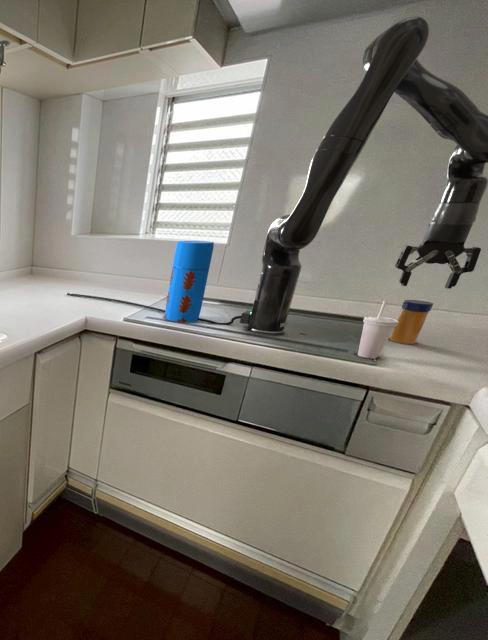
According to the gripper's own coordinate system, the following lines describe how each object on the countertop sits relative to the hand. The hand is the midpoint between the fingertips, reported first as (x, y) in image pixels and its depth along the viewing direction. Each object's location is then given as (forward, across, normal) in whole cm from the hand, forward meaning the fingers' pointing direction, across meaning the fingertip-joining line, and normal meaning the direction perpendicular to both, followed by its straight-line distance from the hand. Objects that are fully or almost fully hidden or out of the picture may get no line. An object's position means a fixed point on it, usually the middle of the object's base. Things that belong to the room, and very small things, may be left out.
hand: (425, 286), depth 107 cm
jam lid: (+4, 0, 0) cm, 4 cm away
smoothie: (+15, +11, +21) cm, 28 cm away
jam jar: (+15, 0, 0) cm, 15 cm away
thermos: (+15, +57, +5) cm, 59 cm away
